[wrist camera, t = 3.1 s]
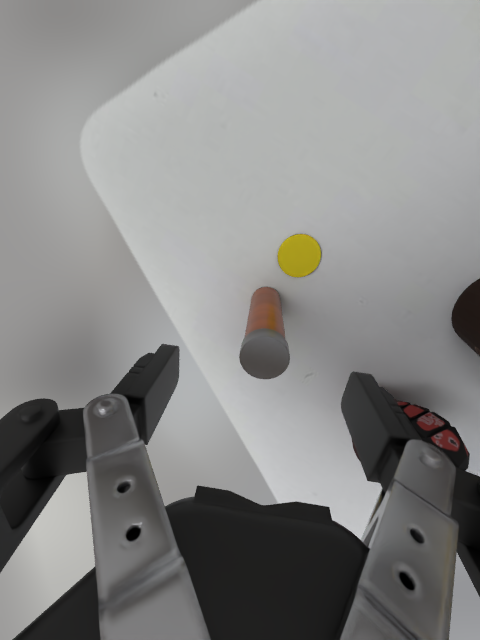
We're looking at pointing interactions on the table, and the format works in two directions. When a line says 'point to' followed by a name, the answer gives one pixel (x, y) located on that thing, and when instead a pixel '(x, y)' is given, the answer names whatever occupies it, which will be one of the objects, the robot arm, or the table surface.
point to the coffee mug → (468, 316)
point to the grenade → (436, 433)
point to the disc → (299, 255)
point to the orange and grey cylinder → (265, 337)
